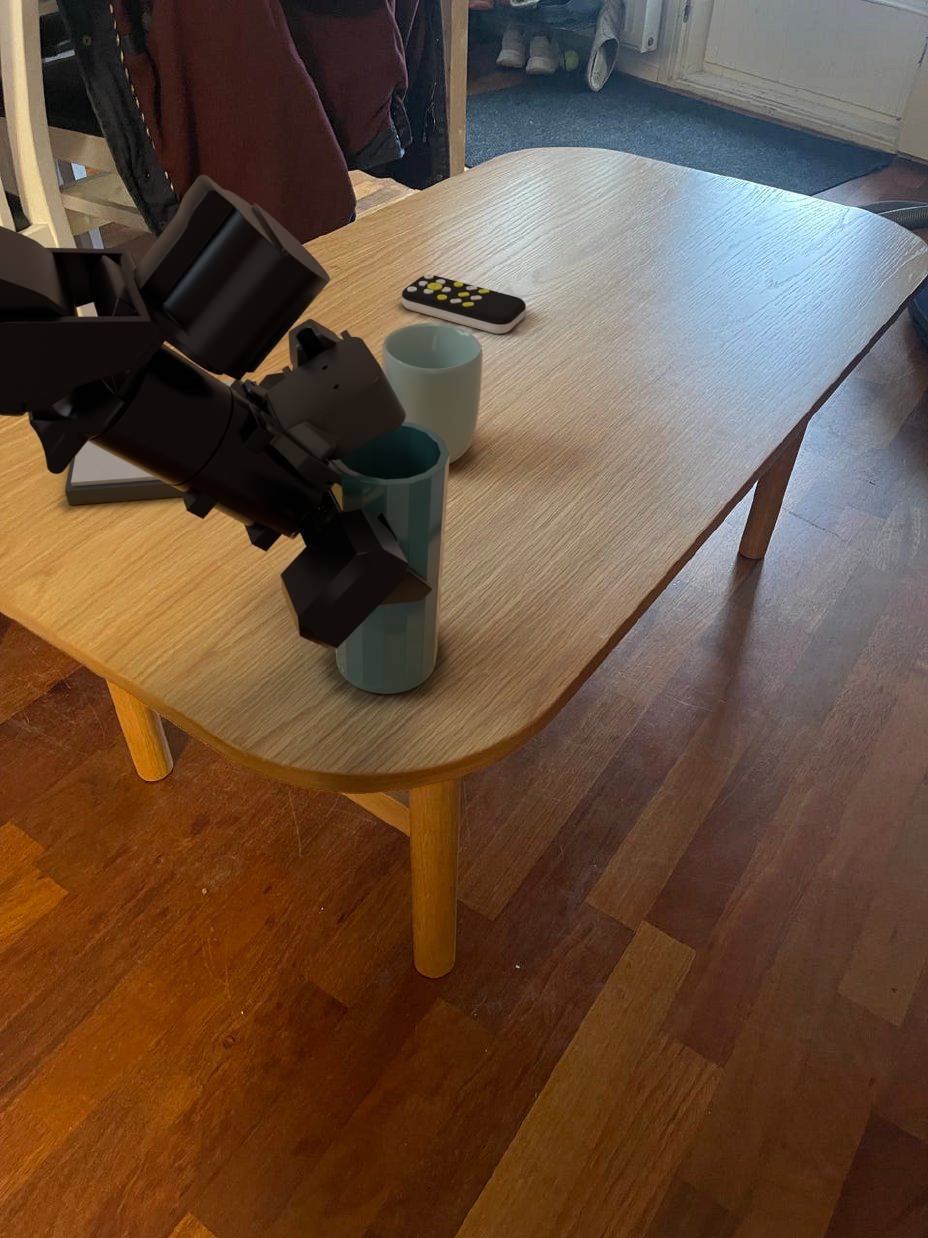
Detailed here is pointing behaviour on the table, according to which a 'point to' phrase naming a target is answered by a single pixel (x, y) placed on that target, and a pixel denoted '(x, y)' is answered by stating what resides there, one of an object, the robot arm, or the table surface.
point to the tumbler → (416, 511)
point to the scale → (112, 478)
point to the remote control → (464, 303)
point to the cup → (437, 380)
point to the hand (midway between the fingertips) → (406, 557)
